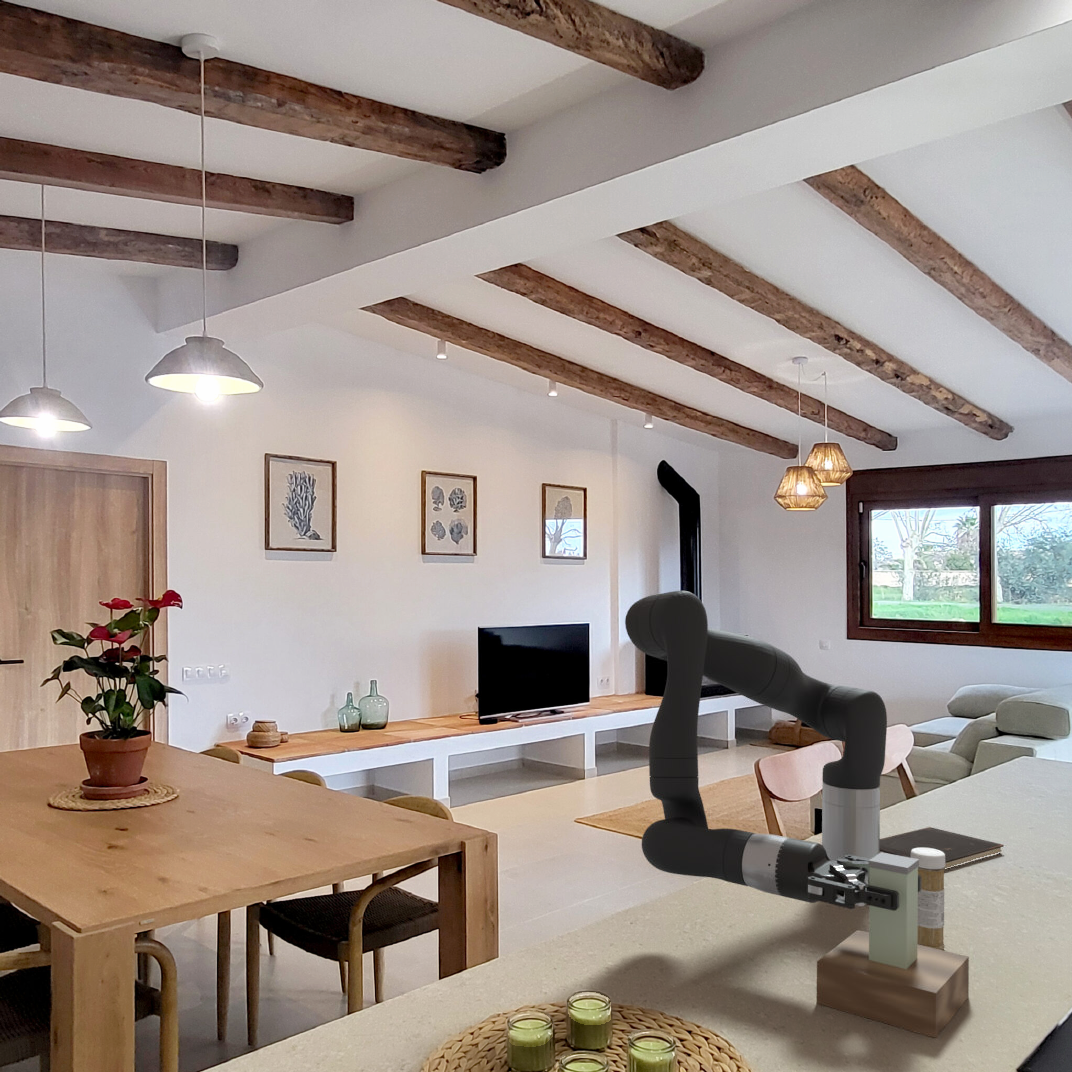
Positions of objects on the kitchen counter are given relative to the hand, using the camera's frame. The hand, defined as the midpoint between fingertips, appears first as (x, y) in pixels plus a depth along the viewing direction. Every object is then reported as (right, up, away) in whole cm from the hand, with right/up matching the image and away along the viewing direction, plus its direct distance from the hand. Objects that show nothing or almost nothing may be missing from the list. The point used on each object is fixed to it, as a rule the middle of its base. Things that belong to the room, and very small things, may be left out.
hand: (909, 892), depth 122 cm
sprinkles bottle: (+9, -15, +19) cm, 25 cm away
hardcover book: (+29, -17, +66) cm, 74 cm away
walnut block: (-2, -14, +1) cm, 14 cm away
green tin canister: (-2, -9, +1) cm, 9 cm away
